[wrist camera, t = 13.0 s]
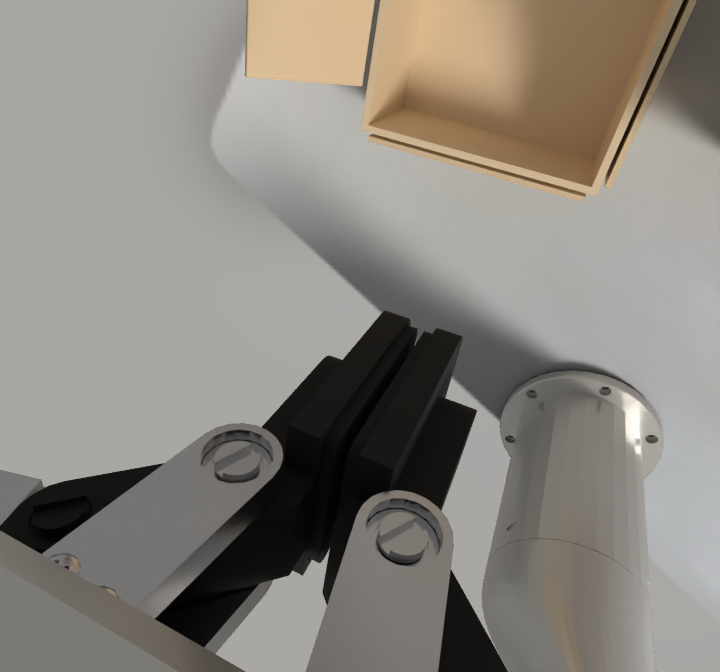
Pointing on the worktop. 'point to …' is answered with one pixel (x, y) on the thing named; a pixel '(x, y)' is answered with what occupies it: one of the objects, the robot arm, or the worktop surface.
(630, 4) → the carton
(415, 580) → the robot arm
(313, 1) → the side flap
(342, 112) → the worktop surface
